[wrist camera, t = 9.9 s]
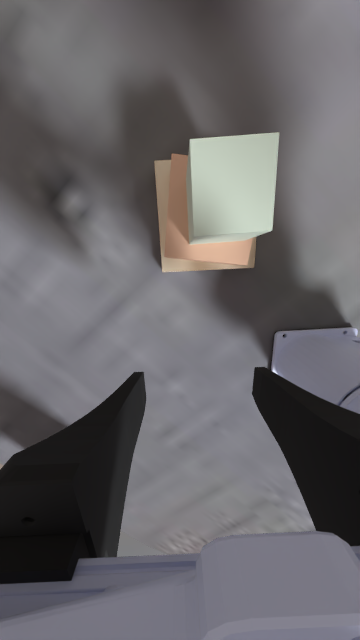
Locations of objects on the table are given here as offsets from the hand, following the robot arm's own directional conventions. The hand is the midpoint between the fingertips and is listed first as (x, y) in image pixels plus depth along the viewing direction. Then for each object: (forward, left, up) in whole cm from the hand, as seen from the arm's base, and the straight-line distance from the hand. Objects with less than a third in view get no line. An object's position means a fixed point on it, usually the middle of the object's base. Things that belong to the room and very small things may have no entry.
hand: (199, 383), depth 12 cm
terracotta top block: (-2, -11, -8) cm, 14 cm away
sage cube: (-2, -11, -6) cm, 13 cm away
